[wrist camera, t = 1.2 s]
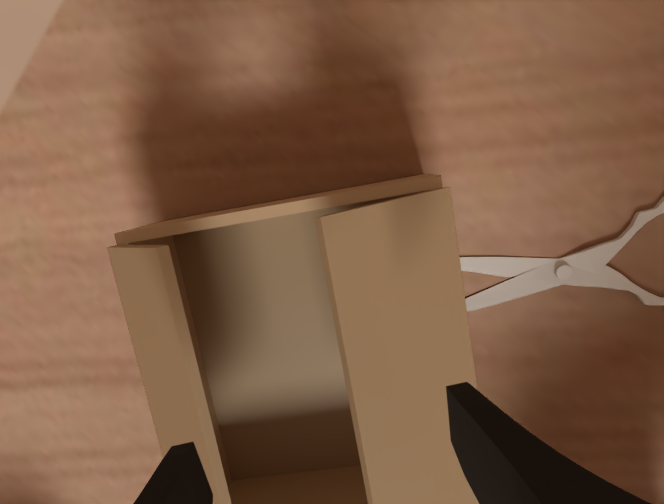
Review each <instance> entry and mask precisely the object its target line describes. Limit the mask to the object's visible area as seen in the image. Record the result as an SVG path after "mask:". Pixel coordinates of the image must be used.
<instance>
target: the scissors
mask: <svg viewBox="0 0 664 504" xmlns="http://www.w3.org/2000/svg"><path fill="white" fill-rule="evenodd" d="M663 213H664V196H663V197H662V198H661V199H660V200H659V202H658V203H657V204H656V205H655V206H654V208H651V209H647V210H643V211H639V212H635V214H634V217H633V219H632V221H631V223H630V225H629V226H628V227H627V228H626V229H625V230H624V231H623V232H622V233H621V234H620V235H619V236H618V237H617V238H616V239H613V240H610V241H607V242H603V243H600V244H598V245H595V246H592V247H589V248H586V249H584V250H581V251H578V252H575V253H573V254H570V255H567V256H564V257H561V258H559V259H558V258H527V257H460V265H461V271H468V272H476V273H483V274H489V275H495V276H502V277H514V278H512V279H510V280H507V281H505V282H503V283H500V284H498V285H496V286H493V287H491V288H489V289H486V290H484V291H482V292H480V293H477V294H475V295H473V296H470V297H468V298H466V299H465V302H466V309H467V312H469V311H473V310H477V309H481V308H484V307H488V306H492V305H496V304H499V303H503V302H506V301H510V300H513V299H516V298H520V297H523V296H526V295H530V294H533V293H537V292H540V291H543V290H547V289H550V288H553V287H557V286H560V285H563V284H565V285H572V286H587V287H604V288H611V289H618V290H628V291H630V292H632V293H634V294H635V295H636V296H637V297H638V298H639V299H640V301H641V302H642V303H643V304H645V305H664V297H658V296H656V295H653V294H651V293H649V292H647V291H645V290H644V289H642V288H640V287H638V286H637V285H635V284H633V283H632V282H630V281H629V280H628V279H627V278H626V277H624V276H623V275H622V274H621V273H619V272H617V271H616V270H614V269H612V268H610V267H609V266H607V265H606V264H607V263H608V262H609V261H610V260H611V259H612V258H613V257H614V256H615V255H616V254H617V253H618V252H619V251H620V249H621V248H622V247H623V246H624V245H625V244H626V243H627V242H628V241H629V240H630V239H631V238H632V237H633V236H634V234H635V233H636V232H637V231H638V230H639V229H640V228H641V227H642V226H643V225H644V224H646V223H647V222H648V221H650V220H652V219H653V218H655V217H656V216H658V215H659V214H663Z"/></svg>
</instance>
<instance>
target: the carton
mask: <svg viewBox="0 0 664 504" xmlns="http://www.w3.org/2000/svg"><path fill="white" fill-rule="evenodd" d="M439 188H442V181H441V175H430V174H422V175H416V176H410V177H405V178H399V179H394V180H388V181H383V182H377V183H372V184H366V185H360V186H355V187H349V188H344V189H338V190H333V191H327V192H322V193H316V194H310V195H305V196H299V197H294V198H288V199H283V200H277V201H272V202H266V203H260V204H255V205H249V206H244V207H238V208H233V209H227V210H222V211H216V212H210V213H205V214H199V215H194V216H188V217H183V218H177V219H172V220H166V221H162V222H158V223H154V224H150V225H146V226H142V227H138V228H134V229H131V230H127V231H123V232H119V233H115V234H114V235H115V239H116V243H117V245H168V246H169V250H170V254H171V258H172V262H173V266H174V270H175V274H176V279H177V283H178V287H179V291H180V295H181V299H182V303H183V307H184V311H185V315H186V319H187V323H188V328H189V332H190V336H191V340H192V344H193V348H194V352H195V356H196V360H197V364H198V368H199V373H200V377H201V381H202V385H203V389H204V393H205V397H206V401H207V405H208V409H209V413H210V418H211V422H212V426H213V430H214V434H215V438H216V442H217V446H218V450H219V454H220V458H221V463H222V467H223V471H224V475H225V479H226V483H227V487H228V491H229V495H230V499H231V503H232V504H368V501H367V495H366V490H365V485H364V479H363V474H362V469H361V463H360V458H359V453H358V447H357V442H356V437H355V431H354V426H353V421H352V415H351V410H350V405H349V399H348V394H347V389H346V383H345V378H344V373H343V367H342V362H341V357H340V351H339V346H338V341H337V335H336V330H335V325H334V319H333V314H332V309H331V303H330V298H329V293H328V287H327V282H326V277H325V271H324V266H323V261H322V255H321V250H320V245H319V239H318V234H317V229H316V223H315V218H314V217H319V216H323V215H327V214H331V213H336V212H340V211H344V210H349V209H353V208H357V207H362V206H366V205H370V204H375V203H379V202H383V201H387V200H392V199H396V198H400V197H405V196H409V195H413V194H418V193H422V192H426V191H430V190H435V189H439Z"/></svg>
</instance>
